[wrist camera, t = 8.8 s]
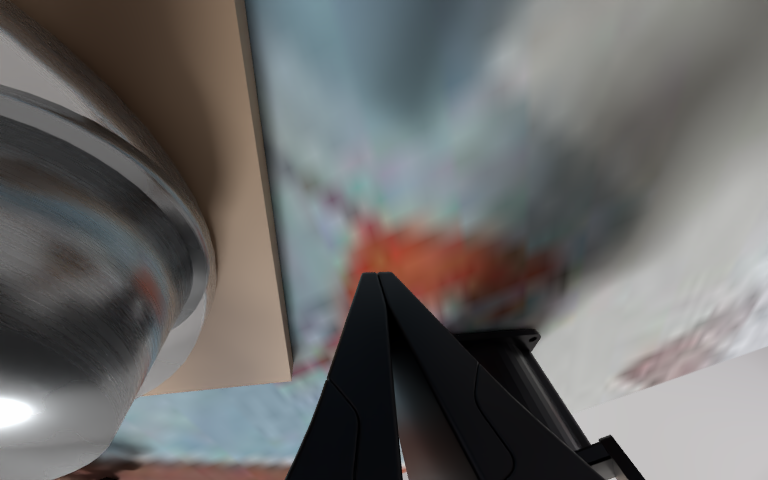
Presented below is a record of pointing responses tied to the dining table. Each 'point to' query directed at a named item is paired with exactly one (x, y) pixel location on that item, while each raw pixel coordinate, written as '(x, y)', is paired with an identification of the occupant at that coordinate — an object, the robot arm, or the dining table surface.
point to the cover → (83, 282)
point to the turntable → (99, 103)
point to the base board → (198, 159)
